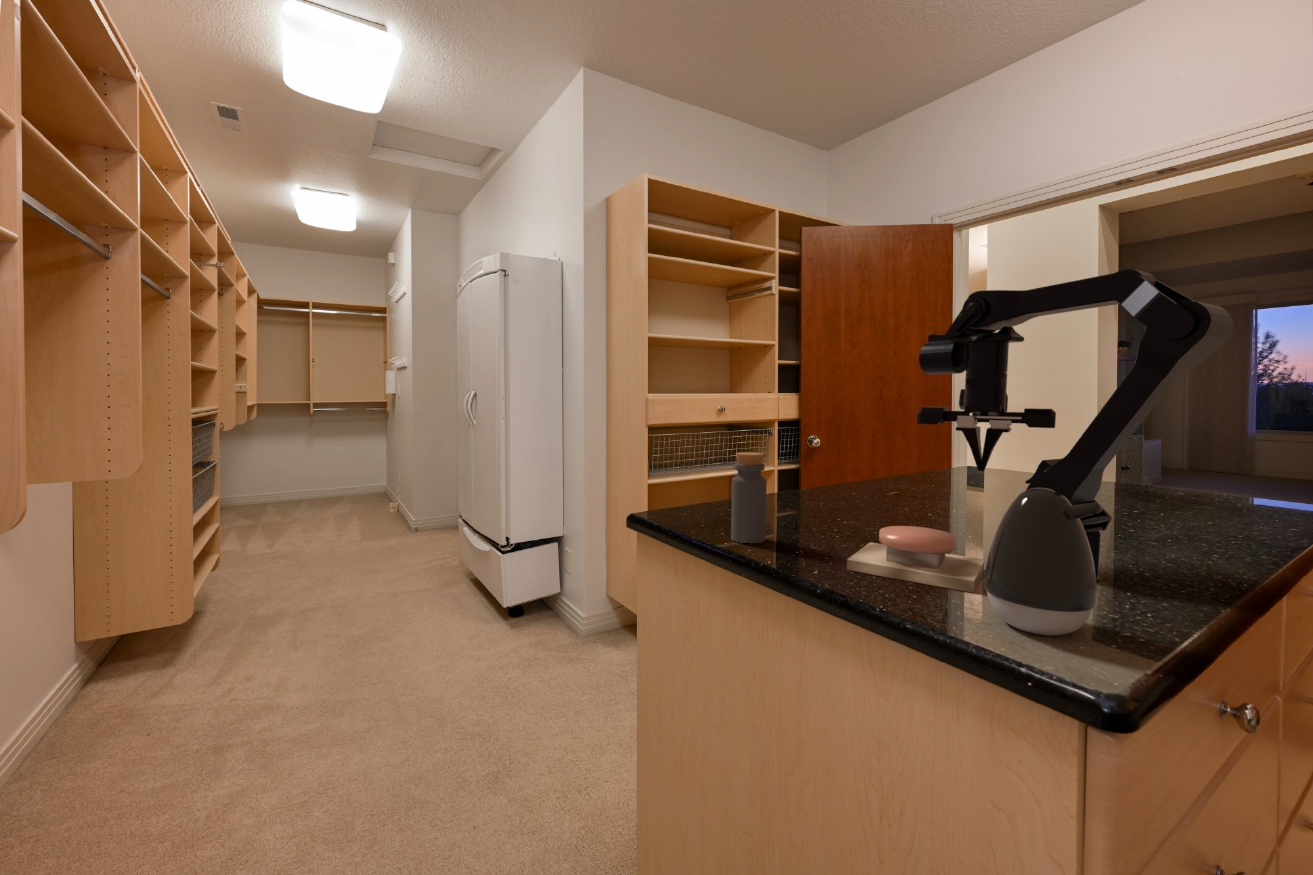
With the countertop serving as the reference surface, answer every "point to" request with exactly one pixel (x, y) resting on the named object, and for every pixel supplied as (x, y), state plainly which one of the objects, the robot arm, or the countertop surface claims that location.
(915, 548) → the button
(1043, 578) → the pump dispenser
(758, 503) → the bottle
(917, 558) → the button base
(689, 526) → the countertop surface
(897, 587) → the countertop surface
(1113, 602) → the countertop surface
